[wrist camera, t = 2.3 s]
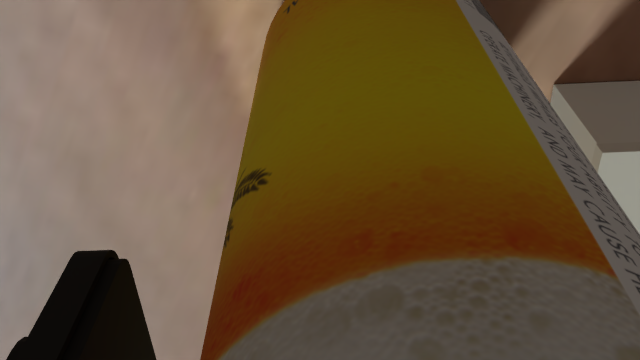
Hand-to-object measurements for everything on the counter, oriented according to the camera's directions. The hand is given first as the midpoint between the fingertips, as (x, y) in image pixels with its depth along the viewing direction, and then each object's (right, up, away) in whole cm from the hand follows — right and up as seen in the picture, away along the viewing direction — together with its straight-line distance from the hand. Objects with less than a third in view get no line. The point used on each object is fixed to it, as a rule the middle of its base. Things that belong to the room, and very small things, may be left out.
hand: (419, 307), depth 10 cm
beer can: (0, +5, +7) cm, 9 cm away
